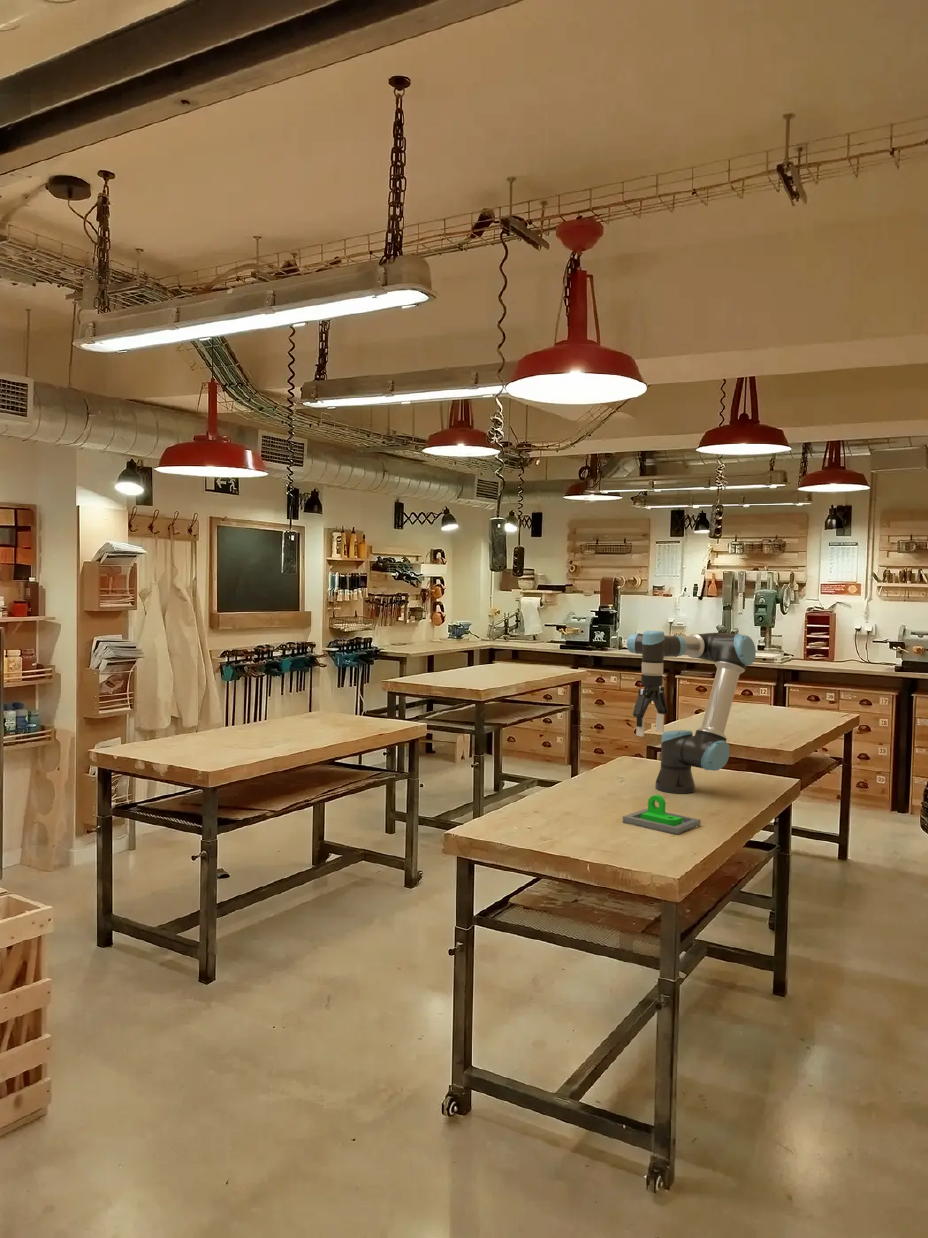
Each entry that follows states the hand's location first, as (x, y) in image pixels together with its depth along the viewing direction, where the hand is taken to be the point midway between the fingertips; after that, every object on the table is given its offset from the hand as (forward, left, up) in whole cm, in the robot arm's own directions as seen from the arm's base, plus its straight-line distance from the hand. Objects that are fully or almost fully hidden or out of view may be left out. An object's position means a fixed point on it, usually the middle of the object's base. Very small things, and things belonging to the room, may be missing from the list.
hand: (650, 734), depth 311 cm
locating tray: (+15, +14, -27) cm, 34 cm away
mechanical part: (+14, +14, -26) cm, 33 cm away
